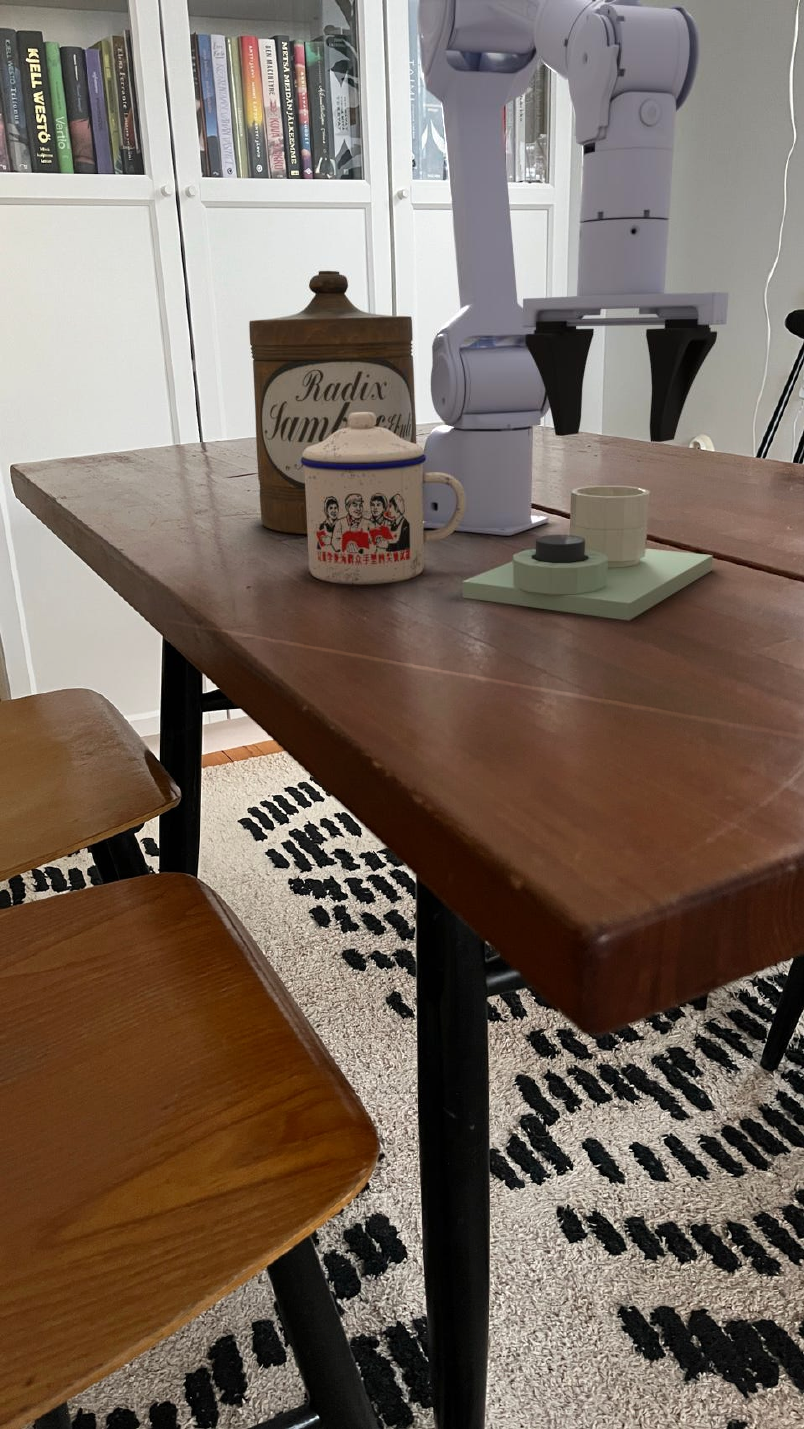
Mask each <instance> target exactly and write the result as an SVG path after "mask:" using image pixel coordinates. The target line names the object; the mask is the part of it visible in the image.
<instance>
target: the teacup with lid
mask: <svg viewBox="0 0 804 1429" xmlns="http://www.w3.org/2000/svg"><path fill="white" fill-rule="evenodd" d="M348 423H349V425H350V427H348V428H343V429H340V430H338V431H336V432H334V433H333V434H332V435H330V436H329V437H328V438H327V439H325V440H324V441H322V442H320V443H318V444H315V445H312V446H309V447H307V448H306V449H305V450H304V452H303V454H302V456H303V457H302V458H301V463H302V464H303V465H304V469H305V490H306V510H307V530H308V535H307V547H308V548H307V549H308V550H307V551H308V569H309V572H310V574H311V575H312V576H313V577H314V578H316V579H318V580H321V581H323V582H327V583H333V584H341V585H358V586H359V585H361V586H363V585H366V586H367V585H383V584H390V583H392V584H393V583H397V582H403V581H406V580H410V579H413V578H415V577H417V576H418V575H420V574H422V572H423V571H424V566H425V562H424V560H425V558H424V554H425V550H424V549H425V548H424V543H425V542H427V543H428V542H435V541H440V540H443V539H445V538H447V537H448V536H450V535H451V534H452V533H453V532H454V530H455V529H456V528H457V527H458V525H459V524H460V522H461V520H462V517H463V515H464V511H465V506H466V497H465V492H464V489H463V487H462V485H461V484H460V483H459V482H458V481H457V480H456V479H455V478H454V477H452V476H451V475H448V474H445V473H439V472H430V473H423V462H424V461H425V460H426V456H425V455H424V448H423V447H422V446H421V445H420V444H418V443H417V444H414V443H411V442H408V441H405V440H403V439H401V438H400V437H398V436H397V435H395V434H394V433H393V432H391V431H390V430H388V429H385V428H381V427H374V426H375V425H376V416H375V414H374V413H372V412H355V413H351V414H350V415H349V417H348ZM423 483H444V484H447V485H448V486H450V487H451V488H452V489H453V490H454V491H455V493H456V498H457V502H456V508H455V511H454V514H453V516H452V518H451V519H450V521H449V522H448V523H447V524H446V525H445V526H443V527H442V528H440V529H432V530H424V527H423Z"/></svg>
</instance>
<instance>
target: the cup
mask: <svg viewBox="0 0 804 1429" xmlns="http://www.w3.org/2000/svg"><path fill="white" fill-rule="evenodd" d="M650 494H651V491H650V490H649V489H646V488H643V487H637V486H630V485H591V486H590V485H589V486H582V487H576V488H572V490H571V491H570V510H569V511H570V512H569V535H572V536H578V537H582V538H584V539H585V549H586V550H592V551H595V552H599V553H602V554H605V556H606V557H607V559H608V568H619V567H628V566H633V565H636V564H638V563H639V562H640V558H643V557H645V554H646V549H647V544H648V529H649V528H648V527H649V511H650V497H651V496H650Z"/></svg>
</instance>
